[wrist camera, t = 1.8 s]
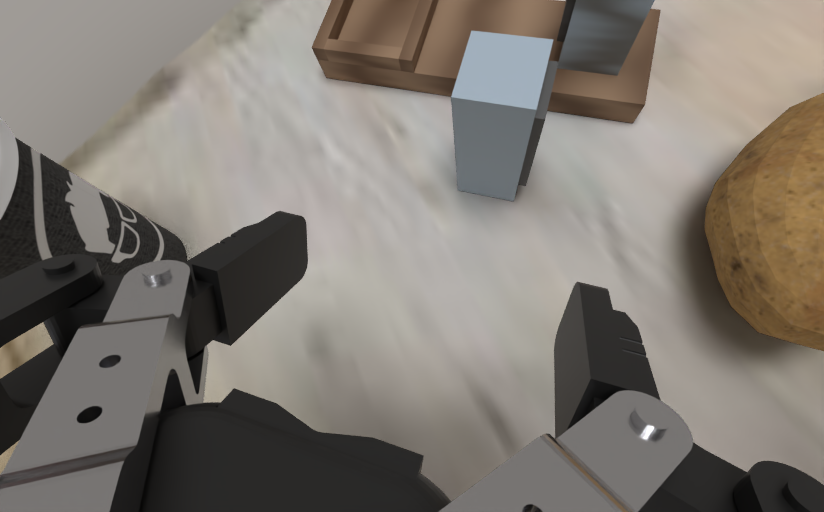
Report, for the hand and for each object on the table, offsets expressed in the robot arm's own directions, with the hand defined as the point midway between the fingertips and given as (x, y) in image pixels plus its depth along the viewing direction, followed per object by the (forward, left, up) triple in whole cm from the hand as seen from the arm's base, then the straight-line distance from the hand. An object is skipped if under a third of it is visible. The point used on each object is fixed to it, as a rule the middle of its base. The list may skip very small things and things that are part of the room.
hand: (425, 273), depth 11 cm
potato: (-20, 0, -15) cm, 25 cm away
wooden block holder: (-8, -20, -15) cm, 26 cm away
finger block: (-6, -10, -15) cm, 19 cm away
